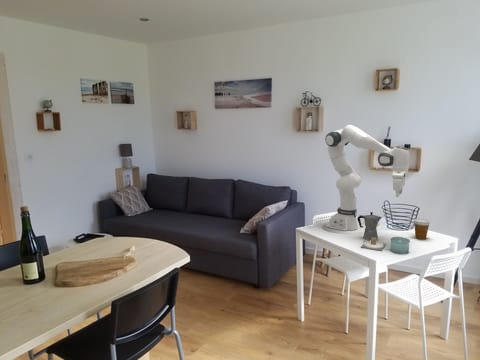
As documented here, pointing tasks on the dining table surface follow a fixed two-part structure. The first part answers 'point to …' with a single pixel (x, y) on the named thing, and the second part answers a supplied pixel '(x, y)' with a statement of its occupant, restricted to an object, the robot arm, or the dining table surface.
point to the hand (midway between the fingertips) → (398, 195)
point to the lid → (373, 244)
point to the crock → (400, 245)
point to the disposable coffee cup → (421, 228)
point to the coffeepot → (370, 225)
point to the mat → (371, 248)
